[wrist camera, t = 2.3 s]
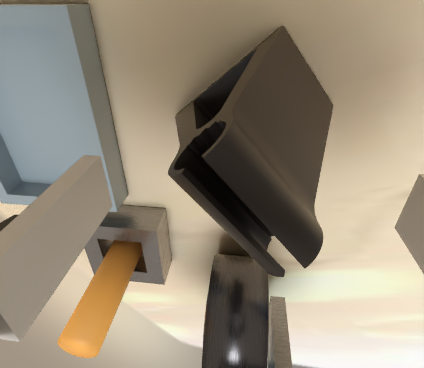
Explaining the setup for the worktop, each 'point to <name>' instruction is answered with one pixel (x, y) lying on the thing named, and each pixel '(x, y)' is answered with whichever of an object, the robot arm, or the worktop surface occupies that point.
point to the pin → (100, 301)
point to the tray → (52, 101)
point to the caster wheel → (243, 318)
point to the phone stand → (259, 151)
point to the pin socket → (135, 232)
